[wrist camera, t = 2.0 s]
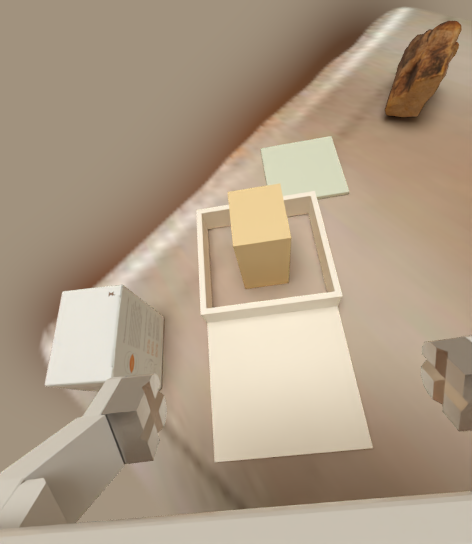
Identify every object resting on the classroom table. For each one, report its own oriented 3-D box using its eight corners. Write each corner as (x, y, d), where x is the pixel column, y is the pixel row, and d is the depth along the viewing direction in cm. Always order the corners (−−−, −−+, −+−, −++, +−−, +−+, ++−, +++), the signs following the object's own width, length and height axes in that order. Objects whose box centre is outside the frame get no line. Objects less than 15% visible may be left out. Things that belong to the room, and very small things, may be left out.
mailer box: (312, 209, 38) (314, 190, 35) (371, 447, 27) (383, 452, 24) (203, 226, 39) (196, 210, 36) (215, 461, 28) (207, 467, 25)
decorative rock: (417, 137, 41) (460, 51, 31) (372, 126, 43) (399, 43, 33) (440, 81, 44) (484, -10, 35) (398, 74, 46) (429, -15, 37)
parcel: (280, 238, 37) (280, 183, 28) (288, 283, 34) (291, 237, 25) (240, 244, 37) (227, 192, 28) (245, 289, 35) (233, 246, 26)
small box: (120, 321, 35) (60, 288, 26) (165, 316, 35) (122, 281, 25) (111, 394, 32) (40, 387, 22) (162, 390, 31) (111, 382, 22)
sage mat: (330, 138, 43) (331, 136, 42) (348, 194, 38) (349, 191, 38) (260, 151, 43) (260, 148, 43) (270, 206, 39) (270, 204, 39)
